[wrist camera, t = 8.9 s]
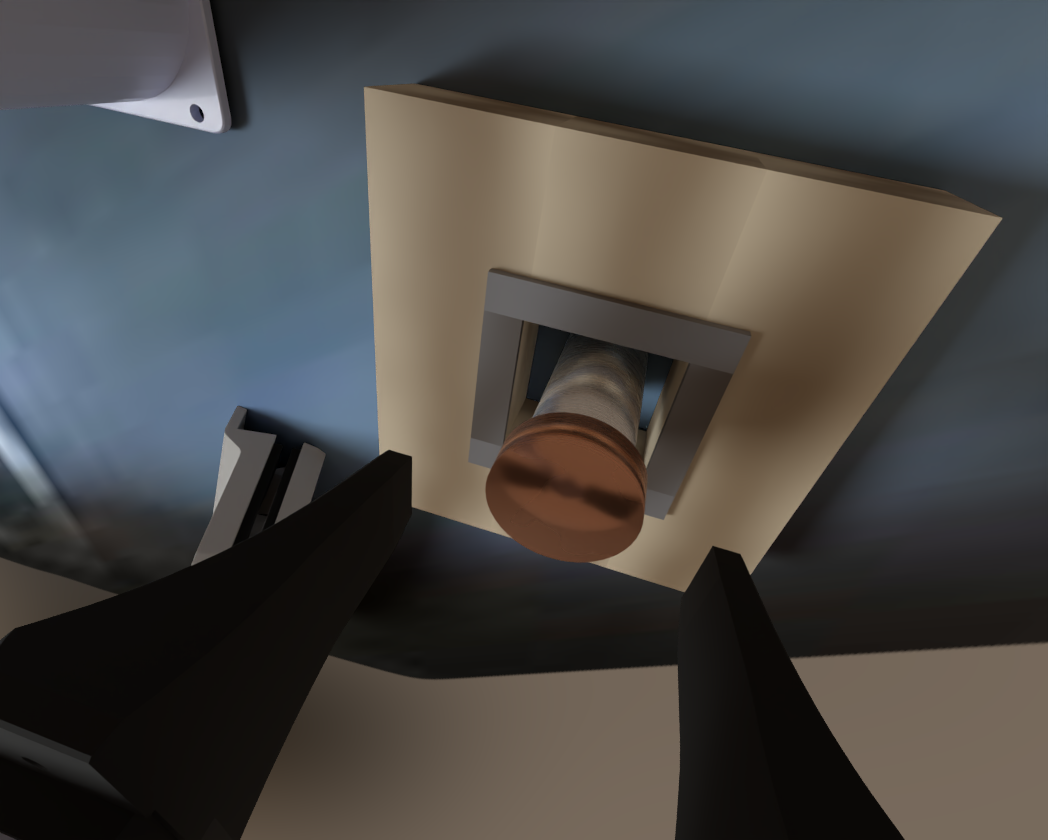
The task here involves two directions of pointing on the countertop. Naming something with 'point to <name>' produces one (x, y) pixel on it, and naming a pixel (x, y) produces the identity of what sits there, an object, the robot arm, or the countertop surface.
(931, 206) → the block
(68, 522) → the countertop surface
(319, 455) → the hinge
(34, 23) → the robot arm
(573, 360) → the pin
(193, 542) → the countertop surface
